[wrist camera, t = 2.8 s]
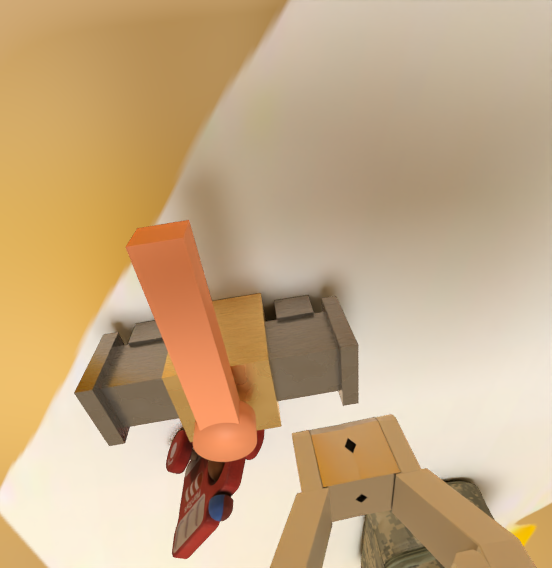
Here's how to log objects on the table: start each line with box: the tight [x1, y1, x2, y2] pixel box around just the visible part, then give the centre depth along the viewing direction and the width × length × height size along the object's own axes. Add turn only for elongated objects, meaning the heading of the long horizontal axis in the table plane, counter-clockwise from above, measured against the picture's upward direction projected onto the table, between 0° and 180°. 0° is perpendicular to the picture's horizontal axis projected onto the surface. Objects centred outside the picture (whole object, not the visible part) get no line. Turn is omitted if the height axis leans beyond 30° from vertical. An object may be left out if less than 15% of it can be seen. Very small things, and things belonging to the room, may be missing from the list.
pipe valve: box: [74, 293, 358, 446], centre depth 27 cm, size 19×7×9 cm, turn 97°
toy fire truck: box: [166, 429, 264, 559], centre depth 33 cm, size 7×12×10 cm, turn 146°
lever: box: [126, 220, 257, 462], centre depth 19 cm, size 16×4×2 cm, turn 7°
